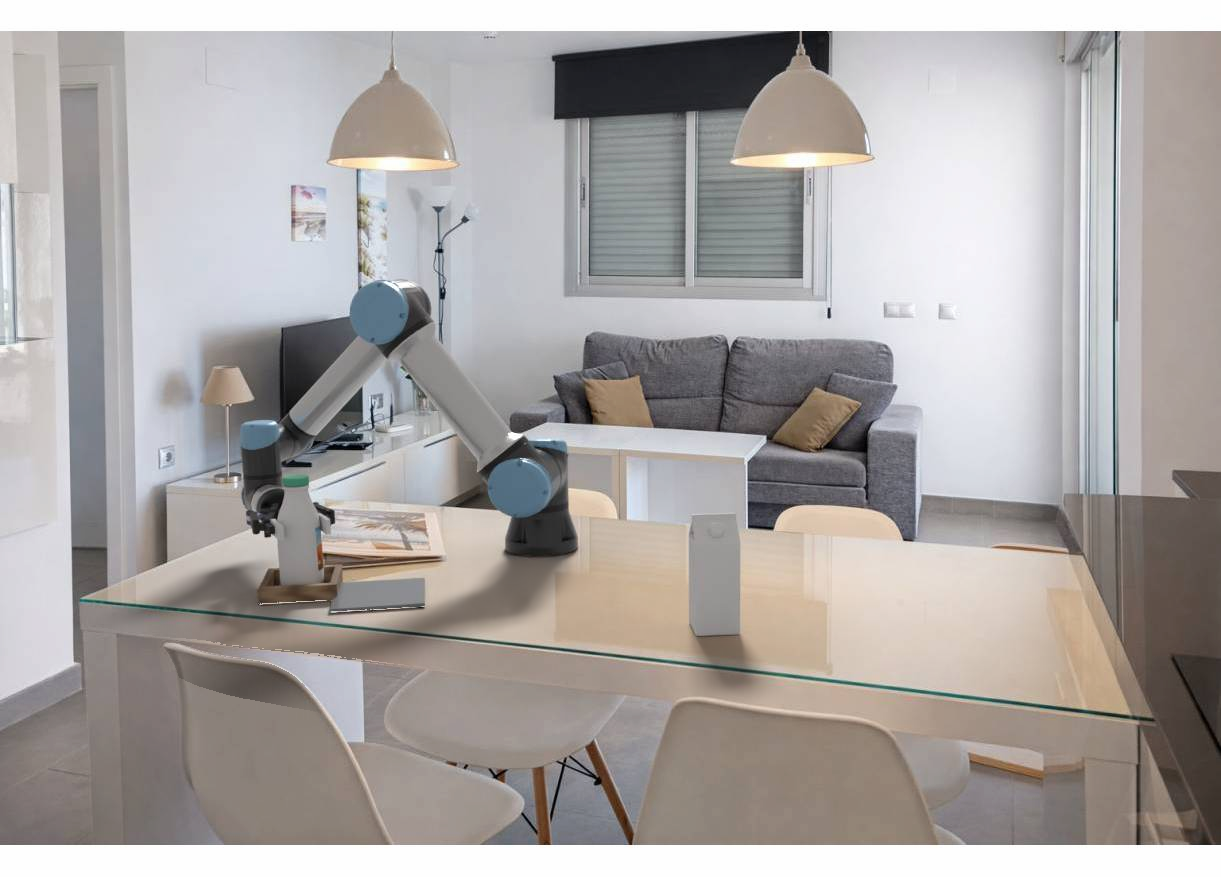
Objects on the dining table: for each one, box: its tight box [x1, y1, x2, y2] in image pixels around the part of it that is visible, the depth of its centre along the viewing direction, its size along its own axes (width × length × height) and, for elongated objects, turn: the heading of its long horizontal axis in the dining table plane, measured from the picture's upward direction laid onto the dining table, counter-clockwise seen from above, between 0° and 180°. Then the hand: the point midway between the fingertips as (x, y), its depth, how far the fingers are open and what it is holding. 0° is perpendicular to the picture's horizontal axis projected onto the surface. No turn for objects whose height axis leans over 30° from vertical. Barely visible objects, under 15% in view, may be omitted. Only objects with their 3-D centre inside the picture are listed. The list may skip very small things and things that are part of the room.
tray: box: [257, 563, 344, 605], centre depth 202 cm, size 13×13×3 cm
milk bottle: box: [276, 473, 324, 586], centre depth 200 cm, size 8×8×20 cm
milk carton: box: [688, 512, 741, 637], centre depth 177 cm, size 7×7×19 cm
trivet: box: [329, 577, 426, 612], centre depth 198 cm, size 16×16×1 cm
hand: (305, 530), depth 196 cm, fingers closed on milk bottle, 7 cm apart
